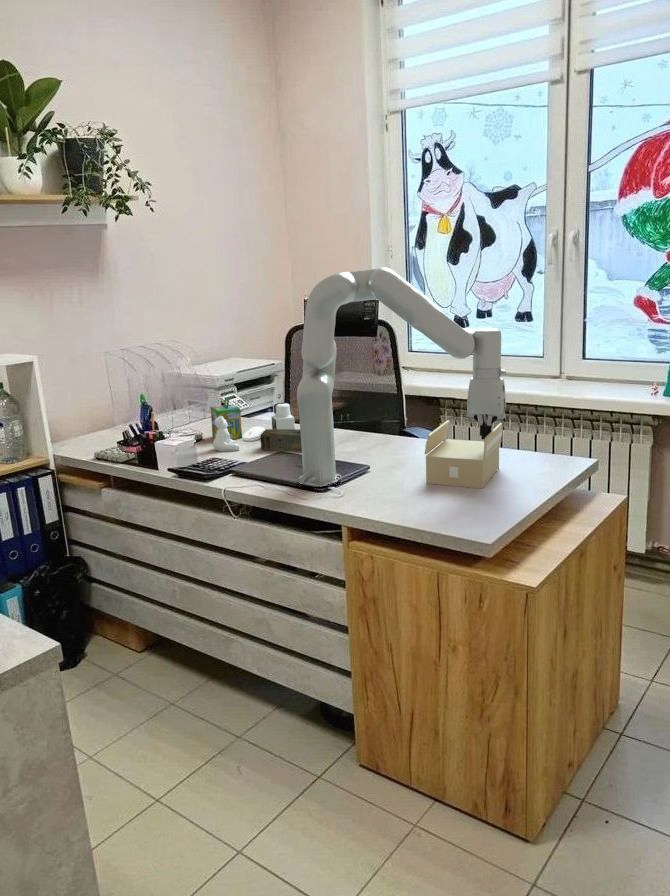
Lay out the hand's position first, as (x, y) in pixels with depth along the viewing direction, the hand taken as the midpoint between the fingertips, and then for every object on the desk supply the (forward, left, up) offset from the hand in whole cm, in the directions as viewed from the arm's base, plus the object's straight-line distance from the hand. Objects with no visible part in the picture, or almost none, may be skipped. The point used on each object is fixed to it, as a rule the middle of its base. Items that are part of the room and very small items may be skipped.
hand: (485, 438), depth 204 cm
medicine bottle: (+32, +83, -12) cm, 90 cm away
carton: (0, +6, -12) cm, 13 cm away
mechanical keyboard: (+1, +121, -12) cm, 122 cm away
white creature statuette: (+8, +93, -12) cm, 94 cm away
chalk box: (+23, +102, -12) cm, 106 cm away
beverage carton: (+15, +72, -12) cm, 74 cm away
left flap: (0, +14, 0) cm, 14 cm away
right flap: (0, -2, 0) cm, 2 cm away
